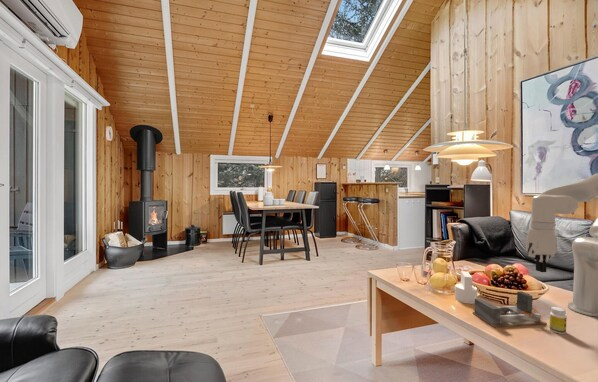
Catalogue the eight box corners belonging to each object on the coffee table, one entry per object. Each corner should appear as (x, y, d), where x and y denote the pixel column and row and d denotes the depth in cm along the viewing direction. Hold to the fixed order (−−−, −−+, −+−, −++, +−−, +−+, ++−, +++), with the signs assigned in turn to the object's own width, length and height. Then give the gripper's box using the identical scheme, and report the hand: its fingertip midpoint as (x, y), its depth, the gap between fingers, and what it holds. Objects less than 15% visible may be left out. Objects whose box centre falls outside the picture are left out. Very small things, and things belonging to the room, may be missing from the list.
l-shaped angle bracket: (520, 312, 125) (521, 291, 125) (539, 322, 116) (540, 299, 116) (501, 313, 124) (502, 291, 124) (520, 323, 115) (520, 300, 115)
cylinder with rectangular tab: (479, 304, 135) (480, 278, 135) (456, 302, 138) (457, 276, 138) (474, 297, 144) (475, 272, 143) (453, 294, 147) (453, 270, 146)
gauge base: (520, 311, 129) (520, 295, 129) (546, 324, 117) (547, 307, 117) (472, 313, 126) (473, 297, 126) (494, 327, 114) (495, 310, 114)
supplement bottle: (567, 335, 108) (568, 312, 108) (550, 332, 111) (551, 309, 111) (564, 330, 113) (565, 307, 112) (548, 326, 115) (549, 305, 115)
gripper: (550, 224, 126) (548, 268, 127) (518, 224, 125) (516, 269, 125) (568, 227, 119) (566, 273, 120) (534, 227, 117) (532, 274, 118)
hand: (540, 271), depth 122 cm, fingers closed
